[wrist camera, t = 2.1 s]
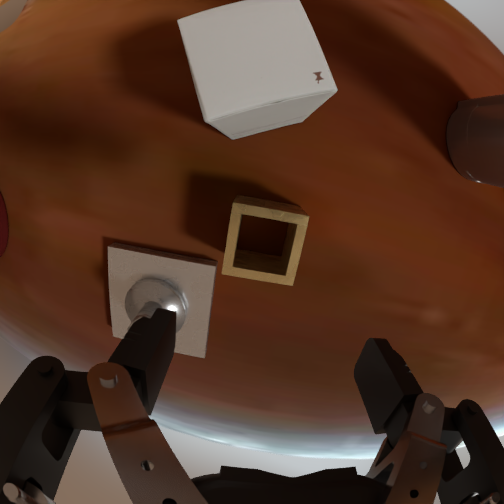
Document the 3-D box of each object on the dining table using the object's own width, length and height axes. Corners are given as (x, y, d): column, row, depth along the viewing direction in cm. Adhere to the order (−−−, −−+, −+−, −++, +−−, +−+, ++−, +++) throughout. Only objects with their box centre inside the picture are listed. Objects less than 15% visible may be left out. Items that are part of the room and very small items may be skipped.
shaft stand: (114, 242, 28) (80, 264, 22) (217, 261, 29) (206, 291, 22) (117, 329, 32) (94, 362, 25) (206, 350, 33) (196, 390, 26)
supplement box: (282, 56, 22) (300, -11, 10) (303, 123, 24) (342, 94, 12) (209, 74, 23) (173, 17, 11) (229, 141, 25) (204, 125, 13)
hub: (237, 194, 27) (232, 202, 22) (300, 206, 27) (309, 216, 22) (227, 254, 28) (221, 273, 24) (287, 264, 29) (292, 285, 24)
